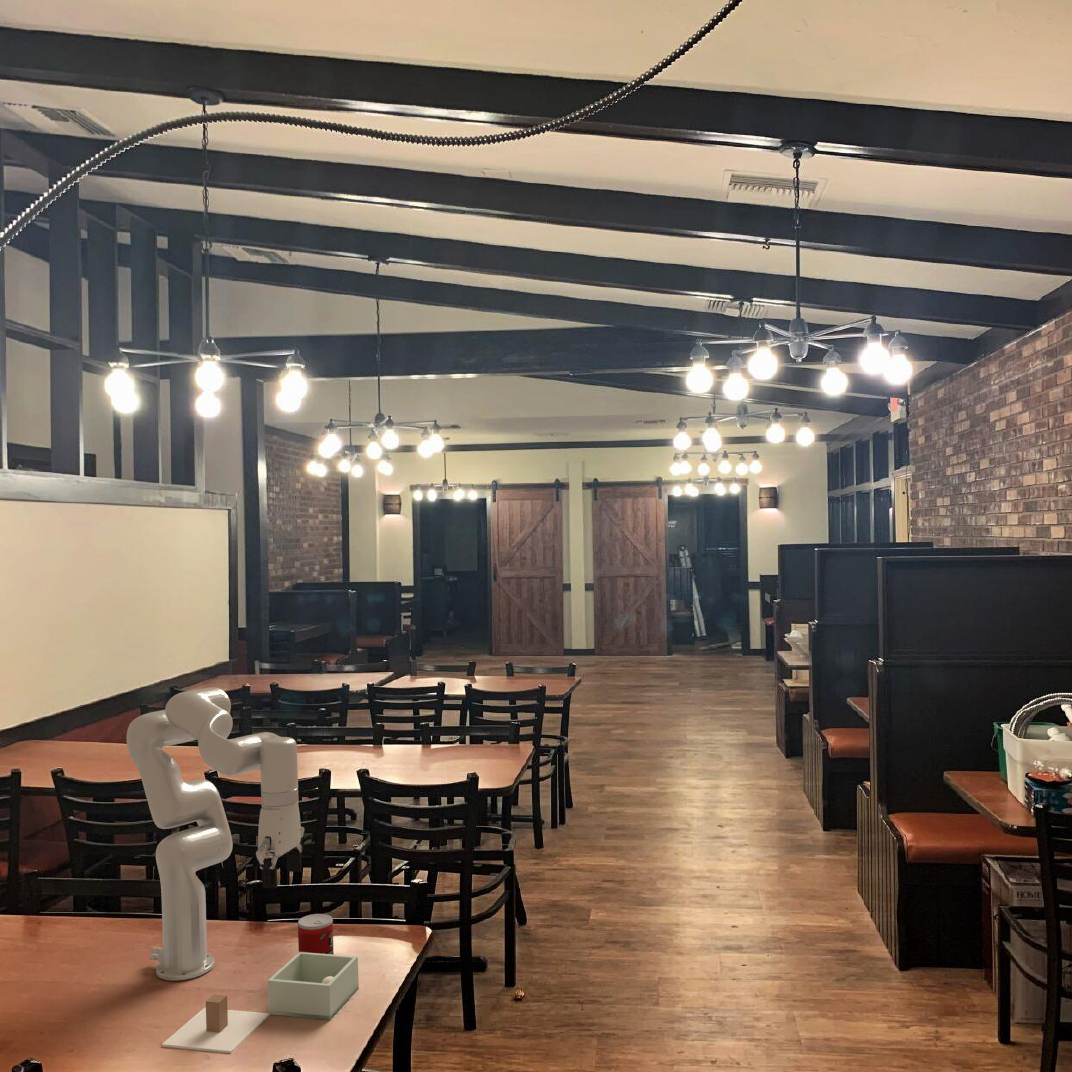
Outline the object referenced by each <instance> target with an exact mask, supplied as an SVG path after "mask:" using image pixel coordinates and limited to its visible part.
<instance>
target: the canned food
mask: <svg viewBox="0 0 1072 1072" xmlns="http://www.w3.org/2000/svg"><path fill="white" fill-rule="evenodd" d="M333 923H334V920H333V917H332V916H331V915H329V914H325V913H314V914H313V913H312V914H309V915H305V916H303V917H301V918H299V920H298V921H297V938H298V939H297V941H298V942H297V943H298V946H297V947H298V953H299V952H307V953H319V954H332V955H335V954H334V925H333Z"/></svg>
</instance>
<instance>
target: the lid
mask: <svg viewBox="0 0 1072 1072" xmlns="http://www.w3.org/2000/svg"><path fill="white" fill-rule="evenodd" d="M269 1016H270V1014H269V1013H268V1012H267V1013H266V1012H259V1011H258V1012H256V1011H247V1010H236V1009H228V995H224V994H223V995H222V994H212V996H210V997H209V998H208V999H207V1000H206V1001H205V1007H203V1008H202V1009H201V1010H200V1011H199V1012H197V1013H196V1014H195V1015H194V1016H193V1017H191V1018H190V1019H189V1020H188V1021H187V1022H185V1024H183V1025H182V1026H181V1027H180V1028H179V1029H178V1030H177V1031H175V1032H174V1033H173V1034H172V1035H171V1036H169V1037H168V1038H167V1039H166V1040H165V1041H164V1042H163V1043H162V1044H161V1047H162V1048H170V1049H171V1048H173V1049H183V1050H192V1051H193V1050H194V1051H204V1052H214V1053H224V1054H225V1053H226V1054H233V1052H234V1051H236V1049H238V1048H239V1046H241V1044H243V1042H244V1041H246V1039H247V1038H249V1037H250V1035H251V1034H253V1032H254V1031H255V1030H257V1028H258V1027H260V1025H261V1024H263V1022H264V1021H265V1020H266V1019H267V1018H268V1017H269Z"/></svg>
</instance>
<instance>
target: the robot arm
mask: <svg viewBox="0 0 1072 1072" xmlns="http://www.w3.org/2000/svg"><path fill="white" fill-rule="evenodd" d="M231 703H232V702H231V700H230V697H229V696H228V694H227V693H226V692H225V691H224V690H223V689H221V688H219V687H214V686H213V687H211V686H210V687H205V688H199V689H193V690H187V691H182V692H179V693H177V694H175V695H173V696H172V697H171V698H169V700H168V701H167V703H166V704H165V709H161V710H157V711H152V712H147V713H144V714H142V715H139V716H138V717H136V718H135V719H133V720H132V721H131V722H130V723H129V726H128V727H127V731H126V747H127V750H128V754H129V756H130V758H131V761H132V762H133V764H134V766H135V767H136V769H137V771H138V773H139V775H140V779H141V781H142V787H143V789H144V794H145V797H146V801H147V803H148V807H149V811H150V814H151V818H152V820H153V822H154V825H156V827H157V828H159V829H162V830H166V829H175V828H178V827H182V826H184V825H188V824H191V823H194V822H196V823H197V826H195V827H192V828H189V829H185V830H180V831H178V832H174V833H172V834H170V835H168V836H166V837H165V838H163V839H162V840H161V841H160V842H159V843H158V845H157V846H156V849H155V860H156V866H157V870H158V875H159V879H160V880H159V881H160V889H161V891H160V893H161V919H162V920H161V921H162V922H161V923H162V925H161V926H162V947H159V946H158V947H157V946H154V947H152V949H151V951H150V955H149V960H152V961H158V963H159V964H158V965H157V967H156V970H155V972H156V973H155V974H156V976H157V977H158V978H159V979H161V980H165V981H170V982H171V981H175V982H177V981H185V980H191V979H195V978H198V977H200V976H202V975H205V974H206V973H208V972H209V971H211V970H212V969H213V968H214V966H215V957H213V955H211V954H209V953H208V947H207V946H208V944H207V943H208V941H207V938H208V937H207V903H206V888H205V885H204V883H203V882H202V881H201V880H200V878H199V877H198V876H197V874H196V872H197V871H200V870H202V869H205V868H208V867H210V866H214V865H217V864H219V863H222V862H224V861H225V860H227V859H228V858H229V857H230V856H231V853H232V851H233V846H234V845H233V837H232V836H233V835H232V833H231V830H230V825H229V822H228V819H227V816H226V812H225V808H224V805H223V802H222V799H221V796H220V795H221V794H220V792H219V790H218V788H217V787H216V786H215V784H214V783H212V782H211V781H209V780H208V779H203V778H201V779H200V778H199V779H194V780H190V781H186V782H185V781H184V779H183V777H182V775H181V774H182V773H181V770H180V766H179V764H178V763H177V760H175V759H174V758H173V757H172V755H170V754H169V753H167V752H166V751H165V750H163V749H162V748H163V747H169V746H174V745H178V744H184V743H188V742H193V741H196V740H197V745H198V750H199V754H200V756H201V758H202V760H203V762H204V763H205V764H206V765H207V766H209V767H210V768H212V769H214V770H215V771H216V772H218V773H220V774H223V775H226V776H239V775H242V774H245V773H249V772H252V771H258V770H259V771H260V796H261V803H260V804H261V808H260V811H259V819H258V831H257V832H258V834H257V835H258V836H257V850H256V852H255V855H256V859H257V864H258V865H259V869H261V886H262V888H264V889H276V888H278V868H277V867H276V864H277V861H278V859H279V858H280V857H282V856H283V855H285V854H286V870H287V872H291V873H301V872H302V851H303V846H302V845H303V843H304V834H305V827H303V826H301V824H302V823H301V814H300V808H299V776H298V775H299V774H298V749H297V748H298V745H297V742H296V740H295V739H294V738H292V737H289V736H279V735H278V734H276V733H273V732H269V731H268V732H267V731H264V732H258V733H255V734H254V733H253V734H248V735H244V736H240V737H239V736H238V737H236V738H231V739H228V737H229V736H230V733H231V732H232V729H233V725H234V724H233V722H234V721H233V717H232V716H231V714H230V713H231V709H232V705H231ZM270 858H271V861H270V860H269V859H270Z"/></svg>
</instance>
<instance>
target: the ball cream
mask: <svg viewBox="0 0 1072 1072" xmlns="http://www.w3.org/2000/svg"><path fill="white" fill-rule="evenodd" d="M333 978H334V977H332V976H328V977H326V978H324V979H323V981H322V983H325V984H328V983H329V982H330V981H331V980H332V979H333Z"/></svg>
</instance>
